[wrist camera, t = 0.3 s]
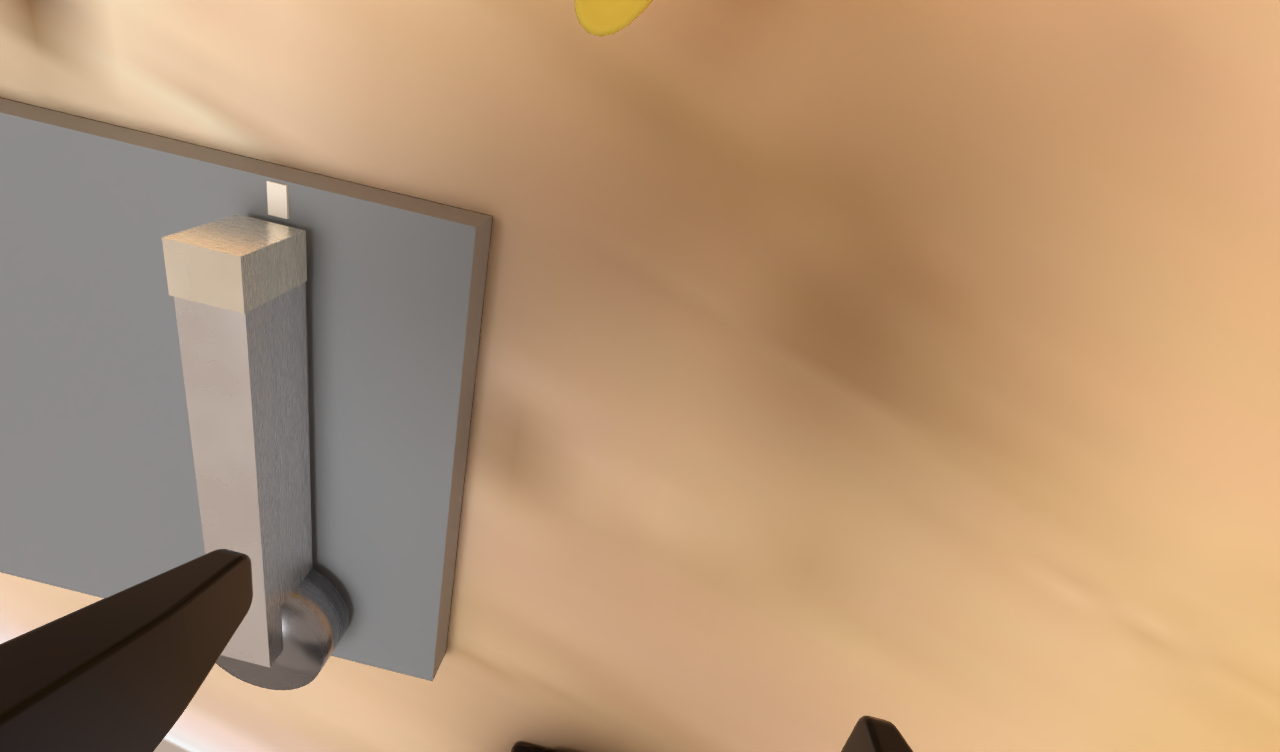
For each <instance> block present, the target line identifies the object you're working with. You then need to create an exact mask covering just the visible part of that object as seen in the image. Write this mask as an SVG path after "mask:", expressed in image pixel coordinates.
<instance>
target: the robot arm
mask: <svg viewBox="0 0 1280 752" xmlns="http://www.w3.org/2000/svg"><path fill="white" fill-rule="evenodd" d="M252 599H253V584H252V564H251V559H250V558H249V556H248V555H246V554H243V553H239V552H235V551H232V550H228V549H217V550H214V551H212V552H209V553H207V554H205V555H202V556H200V557H198V558H196V559H193V560H191V561H189V562H187V563H184V564H182V565H180V566H177V567H175V568H173V569H171V570H168V571H166V572H164V573H162V574H159V575H157V576H155V577H152V578H150V579H148V580H146V581H143V582H141V583H139V584H136V585H134V586H132V587H130V588H127V589H125V590H123V591H121V592H118V593H116V594H114V595H111V596H109V597H107V598H105V599H102V600H100V601H98V602H96V603H93V604H91V605H89V606H86V607H84V608H82V609H80V610H77V611H75V612H73V613H70V614H68V615H66V616H64V617H61V618H59V619H57V620H55V621H52V622H50V623H48V624H45V625H43V626H41V627H39V628H36V629H34V630H32V631H30V632H27V633H25V634H23V635H20V636H18V637H16V638H14V639H11V640H9V641H7V642H5V643H2V644H0V752H153V751H154V750H155V748H156V747H157V746H158V745H159V743H160V742H161V741H162V740H163V738H164V737H165V736H166V734H167V733H168V732H169V731H170V729H171V728H172V727H173V725H174V724H175V723H176V721H177V720H178V719H179V717H180V716H181V715H182V713H183V712H184V710H185V709H186V707H187V706H188V704H189V703H190V701H191V700H192V698H193V697H194V695H195V694H196V692H197V691H198V689H199V688H200V686H201V685H202V683H203V681H204V680H205V678H206V677H207V675H208V674H209V672H210V671H211V669H212V667H213V666H214V664H215V663H216V661H217V660H218V658H219V657H220V655H221V653H222V652H223V650H224V649H225V647H226V646H227V644H228V643H229V641H230V639H231V638H232V636H233V635H234V633H235V632H236V630H237V629H238V627H239V625H240V624H241V622H242V621H243V619H244V618H245V616H246V614H247V613H248V611H249V609H250V606H251V603H252ZM511 752H546V751H542V750H538V749H534V748H530V747H526V746H522V745H517V746H514V747H513V748H512V750H511ZM841 752H913V751H912V749H911V748H910V746H909V745H908V744H907V742H906V741H905V739H904V738H903V736H902V735H901V733H900V732H899V731H898V729H897V728H896V727H895V726H894V725H893V724H892V723H891V722H889V721H886V720H883V719H879V718H875V717H871V716H863V717H861V718H860V719H859V720H858V722H857V724H856V726H855V727H854V729H853V731H852V733H851V735H850V736H849V738H848V740H847V742H846V743H845V745H844V747H843V749H842V751H841Z"/></svg>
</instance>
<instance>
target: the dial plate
mask: <svg viewBox="0 0 1280 752" xmlns="http://www.w3.org/2000/svg"><path fill="white" fill-rule="evenodd" d="M236 214H239V215H243V216H248V217H252V218H256V219H260V220H264V221H268V222H272V223H276V224H281V225H285V226H289V227H293V228H297V229H301V230H305V231H306V261H307V281H306V282H305V285H306V326H307V368H308V409H309V450H310V491H311V532H312V568H313V569H315V570H316V571H318V572H319V573H321V574H322V575H323V576H325V577H326V578H327V579H328V580H329V581H330V582H331V583H332V584H333V585H334V586H335V587H336V588H337V590H338V591H339V592H340V594H341V595H342V597H343V599H344V600H345V603H346V605H347V608H348V612H349V625H348V628H347V631H346V633H345V635H344V636H343V638H342V639H341V641H340V642H339V644H338V645H337V647H336V648H335V650H334V651H333V653H332V654H331V656H335V657H339V658H343V659H347V660H350V661H354V662H358V663H362V664H366V665H370V666H374V667H378V668H382V669H386V670H390V671H394V672H398V673H402V674H406V675H410V676H414V677H418V678H422V679H426V680H430V681H433V679H434V677H435V674H436V672H437V670H438V668H439V666H440V664H441V662H442V660H443V658H444V656H445V653H446V646H447V637H448V628H449V618H450V609H451V600H452V590H453V581H454V572H455V562H456V553H457V544H458V534H459V525H460V516H461V506H462V497H463V488H464V478H465V469H466V460H467V450H468V441H469V432H470V422H471V413H472V404H473V394H474V385H475V376H476V366H477V357H478V348H479V338H480V329H481V320H482V310H483V301H484V292H485V282H486V273H487V264H488V254H489V245H490V236H491V226H492V217H493V216H489V215H485V214H481V213H476V212H472V211H468V210H464V209H460V208H456V207H452V206H447V205H443V204H439V203H435V202H431V201H427V200H423V199H418V198H414V197H410V196H406V195H402V194H398V193H393V192H389V191H385V190H381V189H377V188H373V187H369V186H364V185H360V184H356V183H352V182H348V181H344V180H340V179H335V178H331V177H327V176H323V175H319V174H315V173H310V172H306V171H302V170H298V169H294V168H290V167H286V166H281V165H277V164H273V163H269V162H265V161H261V160H257V159H252V158H248V157H244V156H240V155H236V154H232V153H228V152H223V151H219V150H215V149H211V148H207V147H203V146H198V145H194V144H190V143H186V142H182V141H178V140H174V139H169V138H165V137H161V136H157V135H153V134H149V133H145V132H140V131H136V130H132V129H128V128H124V127H120V126H115V125H111V124H107V123H103V122H99V121H95V120H91V119H86V118H82V117H78V116H74V115H70V114H66V113H62V112H57V111H53V110H49V109H45V108H41V107H37V106H32V105H28V104H24V103H20V102H16V101H12V100H8V99H3V98H0V572H2V573H6V574H10V575H14V576H18V577H22V578H26V579H30V580H34V581H37V582H41V583H45V584H49V585H53V586H57V587H61V588H65V589H69V590H73V591H77V592H81V593H85V594H89V595H93V596H97V597H101V598H107V597H109V596H111V595H114V594H116V593H118V592H121V591H123V590H125V589H127V588H130V587H132V586H134V585H136V584H139V583H141V582H143V581H146V580H148V579H150V578H152V577H155V576H157V575H159V574H162V573H164V572H166V571H168V570H171V569H173V568H175V567H177V566H180V565H182V564H184V563H187V562H189V561H191V560H193V559H196V558H198V557H200V556H202V555H205V549H204V541H203V532H202V524H201V516H200V508H199V500H198V491H197V483H196V475H195V467H194V458H193V450H192V442H191V434H190V426H189V417H188V409H187V401H186V393H185V384H184V376H183V368H182V360H181V352H180V343H179V335H178V327H177V319H176V311H175V302H174V296H170V295H169V292H168V284H167V276H166V268H165V260H164V252H163V244H162V237H165V236H168V235H171V234H175V233H178V232H181V231H184V230H188V229H191V228H194V227H197V226H201V225H204V224H207V223H210V222H213V221H217V220H220V219H223V218H226V217H230V216H233V215H236Z"/></svg>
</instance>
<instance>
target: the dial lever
mask: <svg viewBox="0 0 1280 752" xmlns="http://www.w3.org/2000/svg"><path fill="white" fill-rule="evenodd" d="M162 244H163V252H164V260H165V268H166V276H167V284H168V292H169V295H170V296H174V302H175V311H176V319H177V327H178V335H179V343H180V352H181V360H182V368H183V376H184V384H185V393H186V401H187V409H188V417H189V426H190V434H191V442H192V450H193V458H194V467H195V475H196V483H197V491H198V500H199V508H200V516H201V524H202V532H203V541H204V549H205V554H207V553H209V552H212V551H214V550H217V549H228V550H232V551H235V552H239V553H243V554H246V555H248V556H249V558H250V559H251V564H252V584H253V599H252V603H251V606H250V609H249V611H248V613H247V614H246V616H245V618H244V619H243V621H242V622H241V624H240V625H239V627H238V629H237V630H236V632H235V633H234V635H233V636H232V638H231V639H230V641H229V643H228V644H227V646H226V647H225V649H224V650H223V652H222V653H221V655H220V657H219V658H218V660H217V661H216V664H217V665H219V666H220V667H221V668H222V669H224V670H225V671H227V672H228V673H230V674H231V675H233V676H235V677H236V678H238V679H240V680H242V681H245V682H247V683H250V684H252V685H255V686H259V687H262V688H267V689H274V690H291V689H296V688H300V687H303V686H305V685H307V684H309V683H310V682H311V681H313V680H314V679H315V677H316V676H317V675H318V673H319V672H320V670H321V669H322V667H323V666H324V664H325V663H326V662H327V660H328V659H329V657H330V656H331V654H332V653H333V651H334V650H335V648H336V647H337V645H338V644H339V642H340V641H341V639H342V638H343V636H344V635H345V633H346V631H347V628H348V625H349V612H348V608H347V605H346V603H345V600H344V599H343V597H342V595H341V594H340V592H339V591H338V590H337V588H336V587H335V586H334V585H333V584H332V583H331V582H330V581H329V580H328V579H327V578H326V577H325V576H323V575H322V574H321V573H319V572H318V571H316V570H315V569H313V568H312V532H311V491H310V450H309V409H308V368H307V326H306V285H305V282H306V281H307V261H306V231H305V230H301V229H297V228H293V227H289V226H285V225H281V224H276V223H272V222H268V221H264V220H260V219H256V218H252V217H248V216H243V215H239V214H236V215H233V216H230V217H226V218H223V219H220V220H217V221H213V222H210V223H207V224H204V225H201V226H197V227H194V228H191V229H188V230H184V231H181V232H178V233H175V234H171V235H168V236H165V237H162Z"/></svg>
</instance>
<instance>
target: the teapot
mask: <svg viewBox="0 0 1280 752" xmlns="http://www.w3.org/2000/svg"><path fill="white" fill-rule="evenodd" d="M651 2H652V0H575V11H576V14H577V17H578V20H579V23H580V24H581V25H582V26H583V28H584V29H585V30H586V31H587V32H588V33H591V34H594V35H597V36H604V35H610V34H614V33H616V32H618V31H619V30H621V29H623V28H624V27H626V26H627V25H629V24H630V23H631V22H632V21H633V20H634V19H636V18H637V17H638V16H639V15H640V14H641V13H642V12H643V11H644V10H645V9H646V8H647V7H648V5H649V4H650V3H651Z"/></svg>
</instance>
